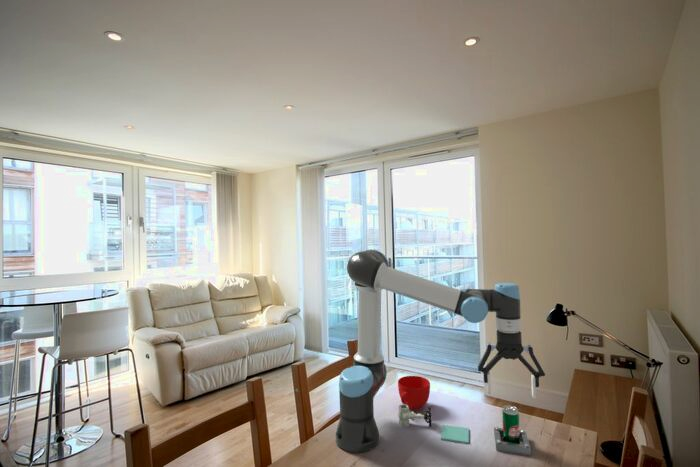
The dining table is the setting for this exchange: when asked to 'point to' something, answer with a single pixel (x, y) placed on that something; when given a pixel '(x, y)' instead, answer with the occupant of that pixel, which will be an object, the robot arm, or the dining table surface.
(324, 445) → the dining table surface
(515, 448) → the frame
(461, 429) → the pad
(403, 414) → the valve
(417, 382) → the ceramic cup
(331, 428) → the dining table surface
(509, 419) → the soda can
